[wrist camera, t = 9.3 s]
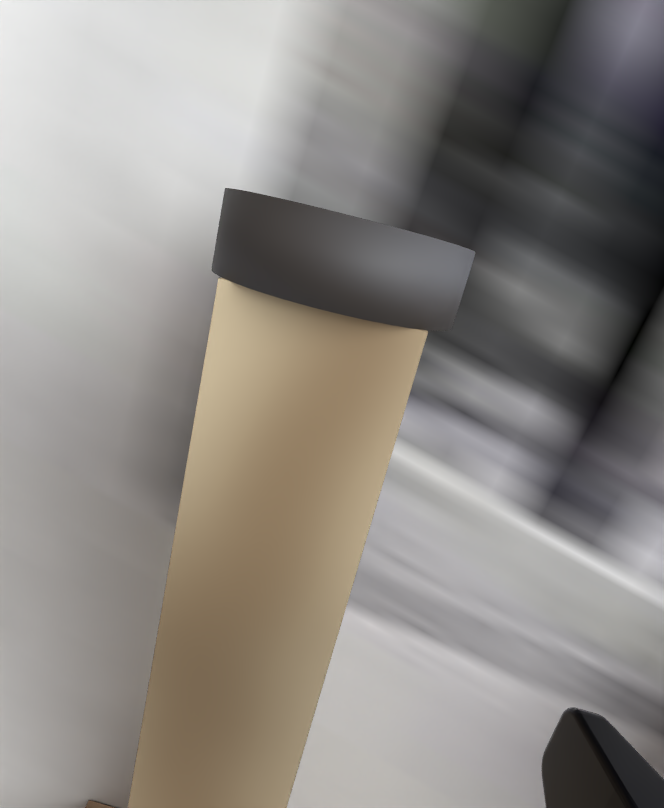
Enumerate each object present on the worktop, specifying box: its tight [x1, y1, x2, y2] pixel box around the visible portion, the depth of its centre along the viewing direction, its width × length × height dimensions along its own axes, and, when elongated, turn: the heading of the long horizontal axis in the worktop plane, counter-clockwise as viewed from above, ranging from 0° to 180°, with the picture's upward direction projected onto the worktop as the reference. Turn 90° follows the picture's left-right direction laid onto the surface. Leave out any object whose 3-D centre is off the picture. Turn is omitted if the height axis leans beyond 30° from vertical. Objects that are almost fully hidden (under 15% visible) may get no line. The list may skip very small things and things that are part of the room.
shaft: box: [128, 188, 475, 808], centre depth 12 cm, size 4×23×4 cm, turn 166°
